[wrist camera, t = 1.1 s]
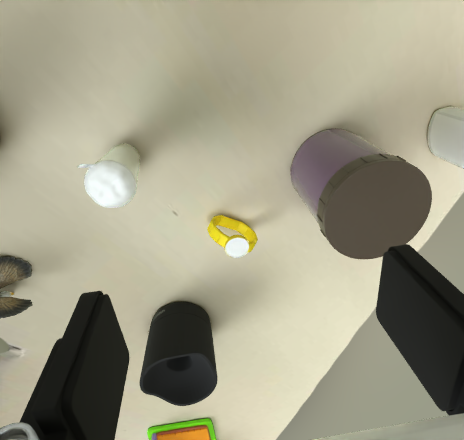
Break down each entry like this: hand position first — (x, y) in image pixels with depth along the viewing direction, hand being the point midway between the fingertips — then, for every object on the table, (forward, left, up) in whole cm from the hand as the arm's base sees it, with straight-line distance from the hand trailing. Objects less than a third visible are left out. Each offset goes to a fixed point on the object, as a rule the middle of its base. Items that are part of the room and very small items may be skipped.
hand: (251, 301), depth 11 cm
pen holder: (+28, +10, -29) cm, 42 cm away
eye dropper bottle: (-12, +25, -29) cm, 40 cm away
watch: (+10, +8, -29) cm, 32 cm away
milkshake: (+8, -7, -29) cm, 31 cm away
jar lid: (-2, +15, -17) cm, 23 cm away
